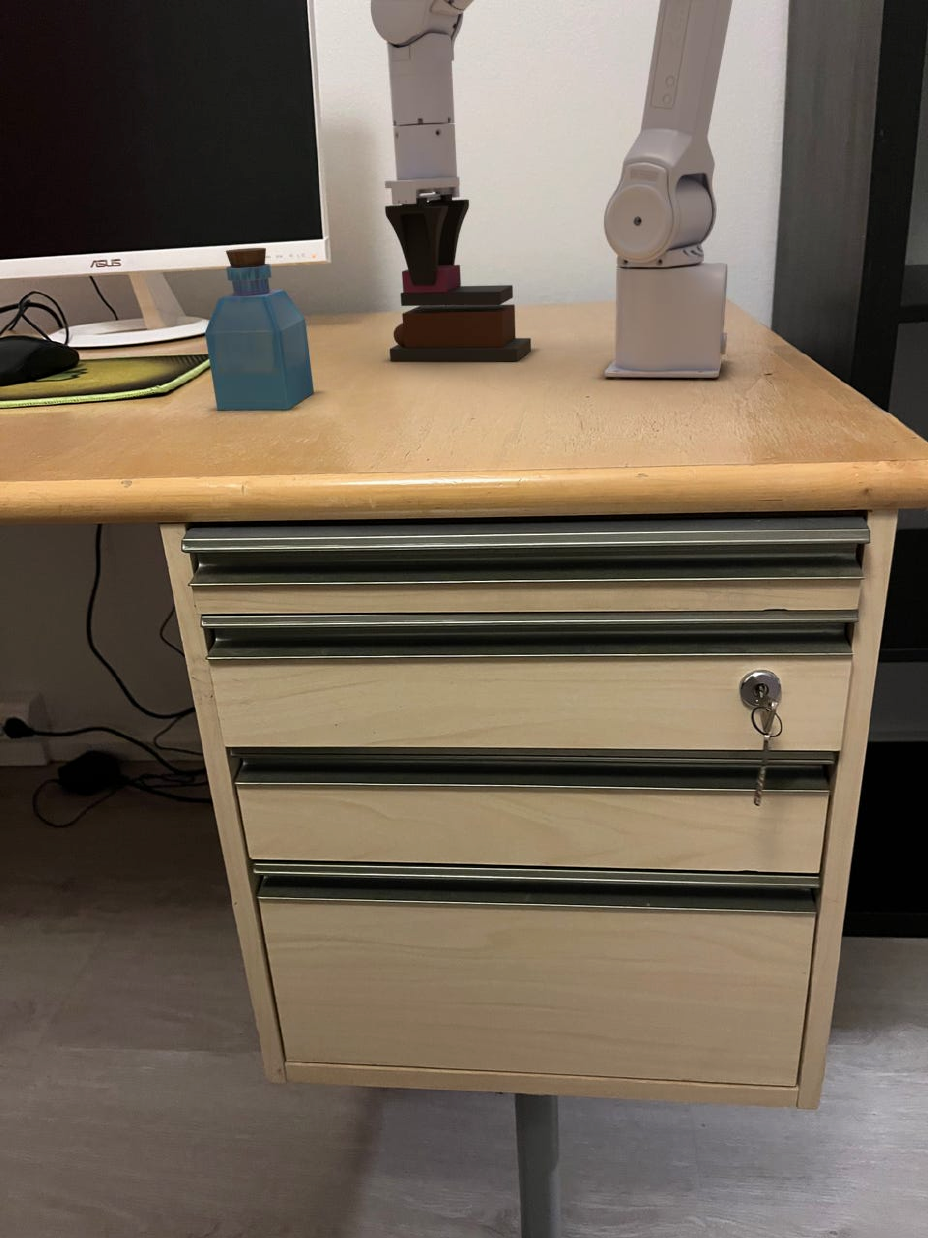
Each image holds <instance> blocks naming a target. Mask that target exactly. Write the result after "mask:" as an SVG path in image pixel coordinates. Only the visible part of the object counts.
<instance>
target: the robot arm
mask: <svg viewBox="0 0 928 1238" xmlns="http://www.w3.org/2000/svg"><path fill="white" fill-rule="evenodd" d="M474 1H475V0H370V15H371V20H372V23H373V26H374V28H375V30H376V33H378V35H379V36H380V37H381V39H383V40H384V41H386V52H387V66H388V67H387V68H388V81H389V82H388V83H389V96H390V105H391V106H390V110H391V122H392V123H391V124H392V135H393V146H394V149H393V150H394V161H395V162H394V163H395V175H396V176H395V177H396V179H391V180H384V188H385V189H390V190H391V191H390V192H391V204H392V205H391V204H390V205H385V206H384V213H385V217H386V219H387V220H388V222H389V223H390V224H391V227H392V229H393V230H394V233H395V235H396V237H397V240H398V242H399V244H400V247H401V250H402V253H403V256H404V260H405V263H406V267H407V270H408V271H409V274H410V278H411V281H412V284H413V286H431V285H435V282H436V277H437V269H438V265H456V264H455V263H456V256H457V248H458V243H459V239H460V233H461V230H462V226H463V223H464V220H465V218H466V216H467V214H468V211H469V207H470V200H469V199H455V198H460V197H461V194H460V185H461V183H460V182H461V180H460V176H458V164H457V163H458V162H457V145H456V143H457V142H456V141H457V140H456V123H455V122H456V121H455V101H454V99H455V98H454V81H453V80H454V79H453V61H455V42H456V40H457V37H458V35H459V33H460V31H461V28H462V25H463V20H464V12H465V11H466V10H467V9H468V7H469V6H471V5H472V4H473V2H474ZM732 5H733V0H659V6H658V11H657V12H658V13H657V19H656V25H655V32H654V38H653V45H652V46H653V47H652V53H651V58H650V66H649V72H648V78H647V86H646V92H645V97H644V98H645V99H644V103H643V104H644V105H643V112H642V117H641V126H640V131H639V134H638V135H637V137H636V139H635V140H634V142H633V144H632V145H631V147H630V149H629V150H628V151H627V153H626V155H625V156H624V158H623V161H622V167H621V173H620V178H619V180H618V183H617V186H616V188H615V189H614V191H613V192H612V194H611V196H610V198H608V202H607V204H606V206H605V210H604V215H603V231H604V234H605V238H606V242H607V243H608V245H609V247H610V248H611V250H612V251H613V252H614V253H615V254H616V255H617V257H616V264H617V265H616V273H615V274H616V275H615V276H616V277H615V278H616V279H615V282H616V283H615V284H616V285H615V295H616V296H615V333H614V334H615V335H614V340H615V341H614V344H615V345H614V359H613V360H612V362H611V363H610V364H609V365H608V367H607V368H606V369H605V370H604V377H606V378H685V379H686V378H687V379H689V378H691V379H692V378H695V379H697V378H699V379H704V378H706V379H707V378H708V379H714V378H718V377H719V375H720V371H721V367H722V363H723V355H726V353H727V339H728V333H727V332H725V317H726V304H727V287H728V264H727V263H723V262H714V263H713V262H704V260H705V253H704V250H703V249H704V248H703V247H702V245H703V244H704V242H705V241H706V240H707V239H708V237H710V235H711V233H712V231H713V229H714V226H715V224H716V219H717V203H716V197H715V194H714V190H713V177H714V172H715V167H716V164H715V159H714V156H713V153H712V150H711V146H710V142H709V138H708V137H709V132H710V124H711V121H712V114H713V108H714V104H715V97H716V92H717V86H718V81H719V77H720V71H721V65H722V59H723V55H724V48H725V44H726V37H727V32H728V28H729V27H728V26H729V22H730V15H731V10H732Z"/></svg>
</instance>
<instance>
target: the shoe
mask: <svg viewBox="0 0 928 1238" xmlns="http://www.w3.org/2000/svg"><path fill="white" fill-rule="evenodd" d="M401 316H402V318H401V319H402V323H400V324H398V325H397V326H396V327H395V328H394V330H393V340H394V342H395V343H396V345H395V346H392V347H391V348H389V359H390V362H518V361H520V360H521V359H522V358H523V357H525V356H526V355H527V354H528V353H530V351H532V338H531V337H516V304H514V303H513V304H501V305H441V306H415V307H414V308H411V309H410V310H407V311H405V312H403V313H402V314H401Z"/></svg>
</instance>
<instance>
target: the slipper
mask: <svg viewBox="0 0 928 1238" xmlns="http://www.w3.org/2000/svg"><path fill="white" fill-rule="evenodd" d="M401 280H402V292H401V293H400V305H401V307H419V306H445V305H503V304H504V303H507V302H508V301H510V300H511V299H513V297H514V289H513V288H514V286H513V285H512V284H505V285H504V284H503V285H502V284H501V285H497V284H496V285H462V280H461V265H460V264H454V265H438V269H437V277H436V282H435V285H431V286H413V284H412V281H411V278H410V274H409V271H408V269H406V270H402V271H401Z"/></svg>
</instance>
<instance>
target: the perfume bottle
mask: <svg viewBox="0 0 928 1238" xmlns="http://www.w3.org/2000/svg"><path fill="white" fill-rule="evenodd" d="M225 253H226V256H227V259H228V262H229V264H230V266H227V267H226V268H225V269H226V276H227V280H228V282H231V285H232V293H228V294H226V295H222V296H219V297H218V298H217V301H216V303H215V305H214V309H213V310H212V312H211V315H210V318H209V321H208V323H207V325H206V328H205V330H204V336H205V342H206V348H207V355H208V361H209V368H210V374H211V379H212V386H213V391H214V392H213V393H214V397H215V399H214V400H215V404H216V410H217V411H286V410H287V411H288V410H290V409H291V408H293V407H295V406H296V405H298V404H299V403H301V402H302V401H304V400H306V399H307V398H309V397H311V396H312V395H313V394H314V393H315V390H314V381H313V373H312V364H311V355H310V348H309V346H310V345H309V338H308V331H307V322H306V318H305V316H304V315H303V313H302V312H301V311H300V309H299V308H298V307H297V305H296V304H295V303H294V301H293V300H292V298H291V296H289V294H288V293H287V292H286V290H285V289H271V290H270V282H269V279H270V278H272V270H271V269H272V268H271V264H270V263H266V255H267V248H266V247H246V248H236V249H235V248H234V249H227V250H225Z"/></svg>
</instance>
